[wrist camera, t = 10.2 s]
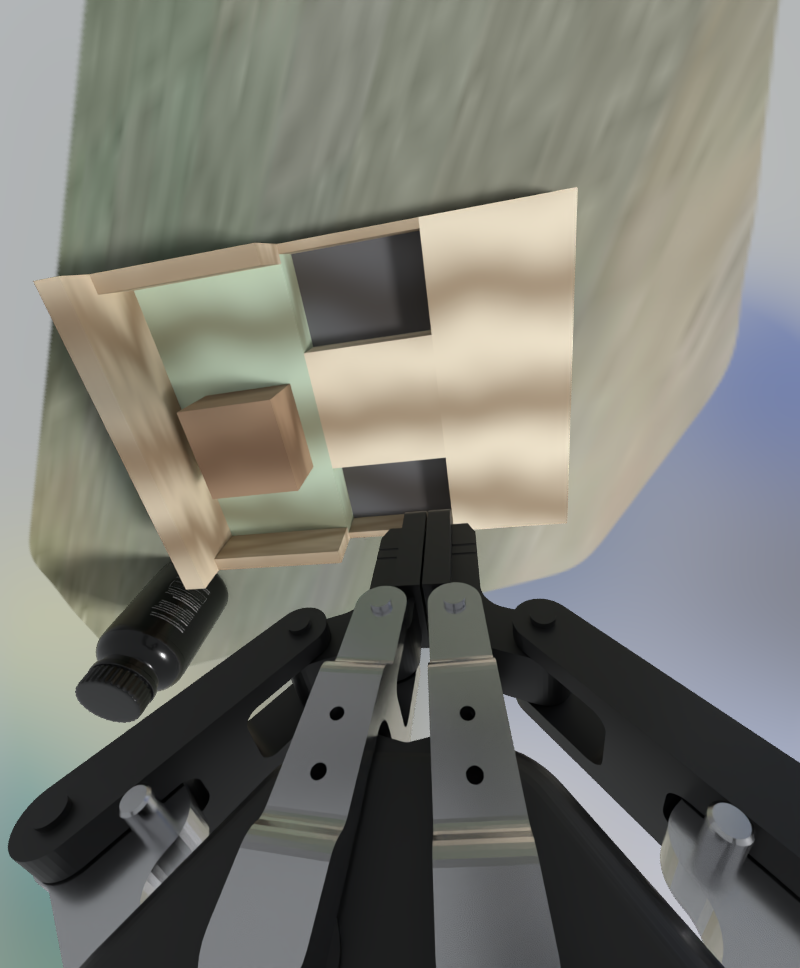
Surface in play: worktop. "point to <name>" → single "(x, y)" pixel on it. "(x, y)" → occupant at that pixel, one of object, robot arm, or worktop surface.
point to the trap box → (344, 376)
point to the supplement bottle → (150, 645)
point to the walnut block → (248, 441)
